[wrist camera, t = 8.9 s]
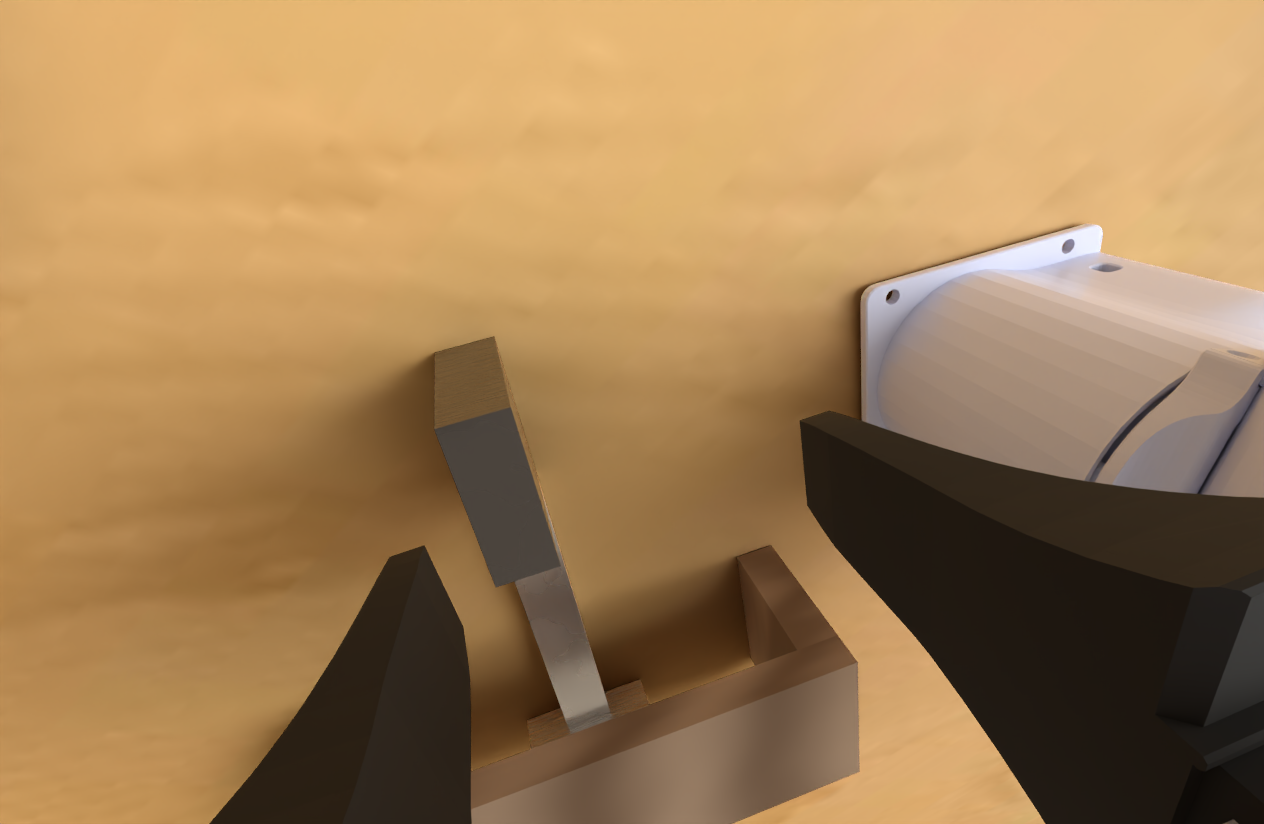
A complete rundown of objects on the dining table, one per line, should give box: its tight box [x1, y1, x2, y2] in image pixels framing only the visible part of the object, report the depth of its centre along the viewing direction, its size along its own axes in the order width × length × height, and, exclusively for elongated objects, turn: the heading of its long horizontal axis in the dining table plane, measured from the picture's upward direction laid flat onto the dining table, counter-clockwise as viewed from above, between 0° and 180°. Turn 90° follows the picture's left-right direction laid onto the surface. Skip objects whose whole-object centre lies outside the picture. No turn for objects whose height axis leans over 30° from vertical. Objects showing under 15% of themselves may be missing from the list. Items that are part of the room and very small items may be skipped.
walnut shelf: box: [471, 546, 859, 824], centre depth 24 cm, size 18×6×6 cm, turn 100°
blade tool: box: [434, 337, 649, 749], centre depth 21 cm, size 18×5×5 cm, turn 10°
